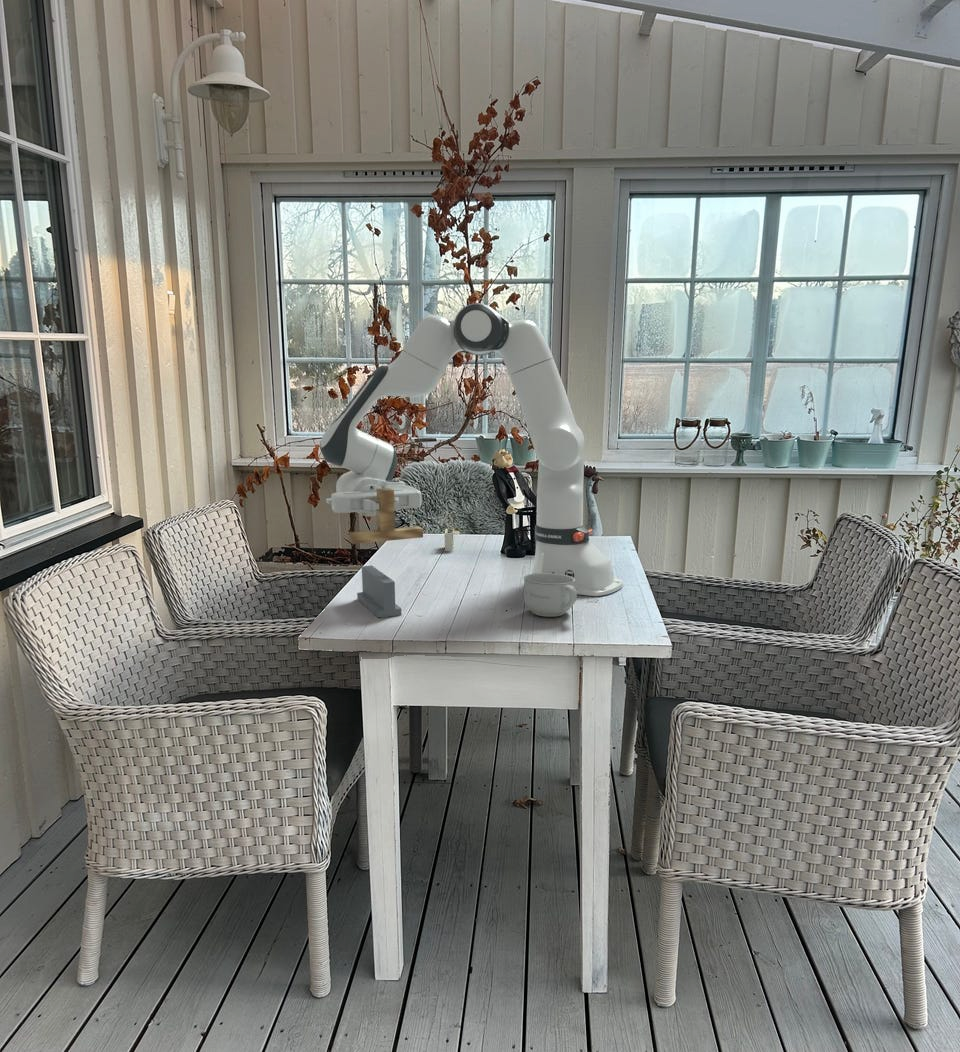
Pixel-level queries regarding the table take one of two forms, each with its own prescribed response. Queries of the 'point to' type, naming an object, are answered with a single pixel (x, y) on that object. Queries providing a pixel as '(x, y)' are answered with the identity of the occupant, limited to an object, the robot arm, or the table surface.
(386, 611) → the ridge
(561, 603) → the teacup
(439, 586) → the table surface
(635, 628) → the table surface
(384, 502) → the wooden t-shaped post
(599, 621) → the table surface
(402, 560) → the table surface
